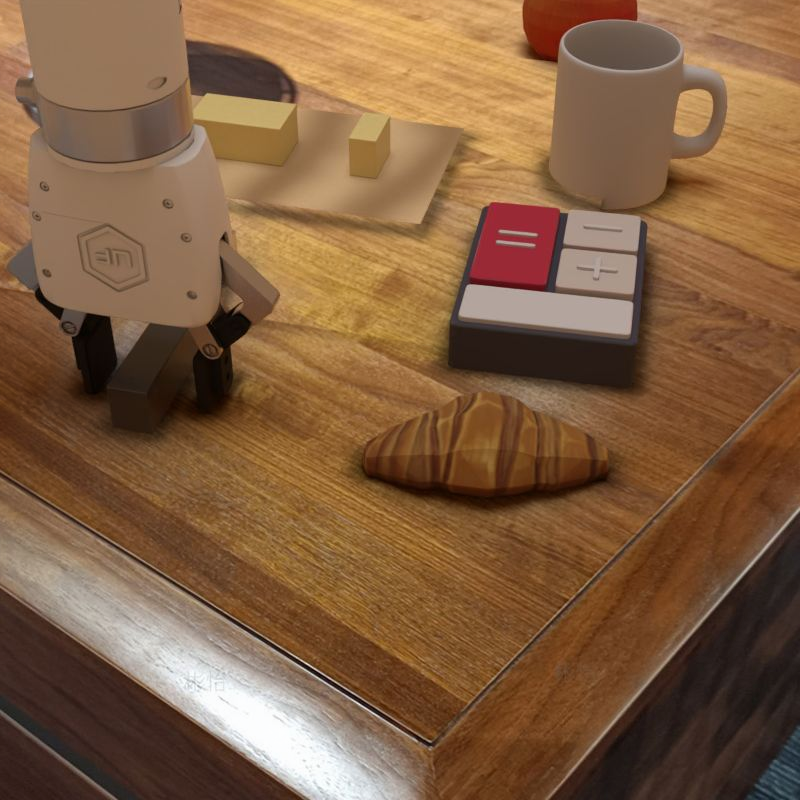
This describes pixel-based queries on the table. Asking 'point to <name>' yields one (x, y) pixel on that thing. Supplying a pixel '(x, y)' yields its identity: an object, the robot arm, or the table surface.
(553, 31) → the fruit
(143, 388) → the knife
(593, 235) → the calculator
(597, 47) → the mug
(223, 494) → the table surface
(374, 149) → the butter pat
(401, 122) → the butter wrapper
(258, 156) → the butter stick
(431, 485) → the croissant
